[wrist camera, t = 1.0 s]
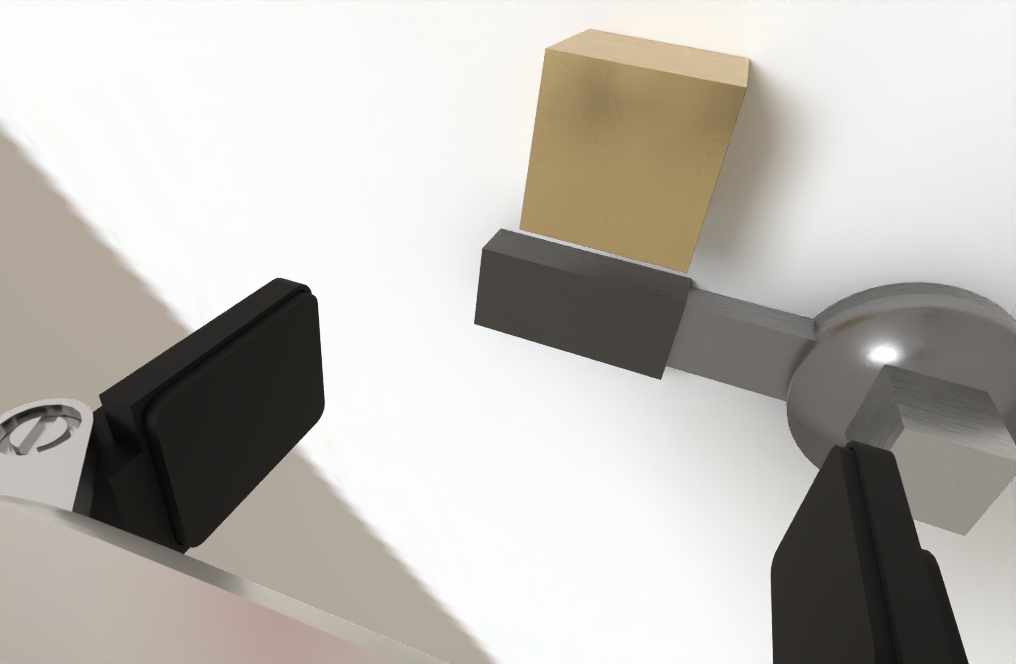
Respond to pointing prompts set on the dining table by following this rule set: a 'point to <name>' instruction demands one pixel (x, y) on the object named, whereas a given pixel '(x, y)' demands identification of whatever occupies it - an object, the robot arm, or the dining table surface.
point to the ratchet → (794, 360)
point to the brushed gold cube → (630, 144)
